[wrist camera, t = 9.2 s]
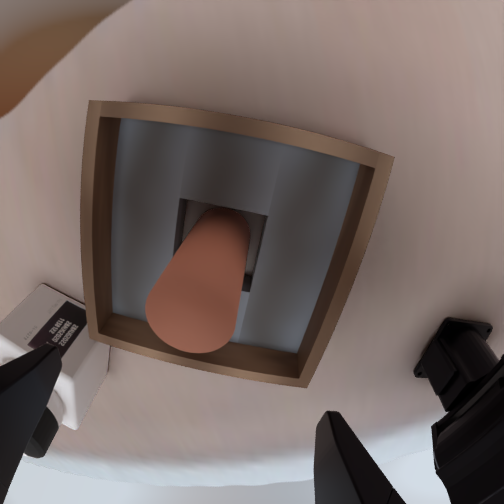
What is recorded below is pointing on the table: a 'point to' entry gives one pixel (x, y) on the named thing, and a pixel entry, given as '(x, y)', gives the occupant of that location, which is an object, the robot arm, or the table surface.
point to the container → (71, 352)
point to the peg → (202, 285)
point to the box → (233, 196)
